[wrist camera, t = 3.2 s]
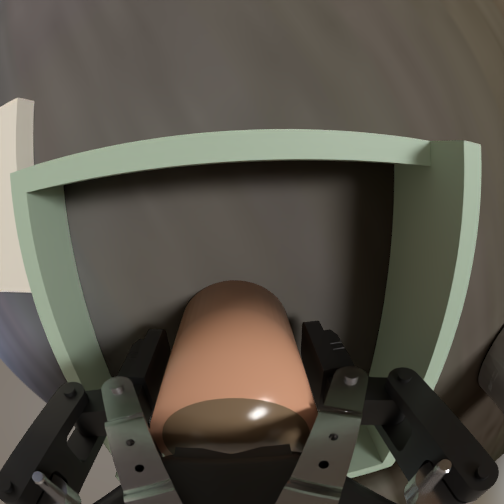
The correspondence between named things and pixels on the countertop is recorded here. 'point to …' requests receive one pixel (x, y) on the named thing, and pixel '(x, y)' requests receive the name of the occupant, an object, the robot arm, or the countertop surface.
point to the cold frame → (279, 149)
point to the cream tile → (3, 163)
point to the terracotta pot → (234, 376)
